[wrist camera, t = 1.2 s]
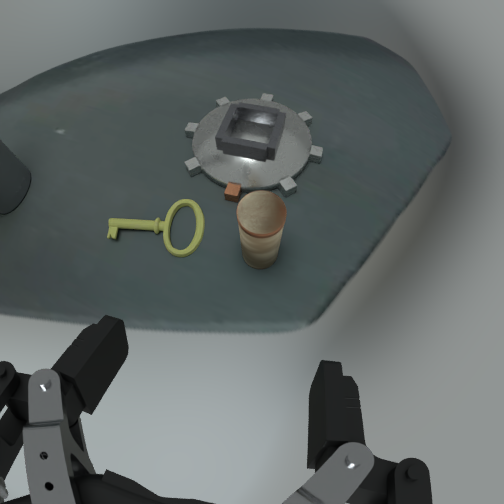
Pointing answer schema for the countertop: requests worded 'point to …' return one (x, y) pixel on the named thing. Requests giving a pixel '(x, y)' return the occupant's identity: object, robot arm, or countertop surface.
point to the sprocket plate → (252, 146)
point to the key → (164, 227)
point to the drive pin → (260, 227)
